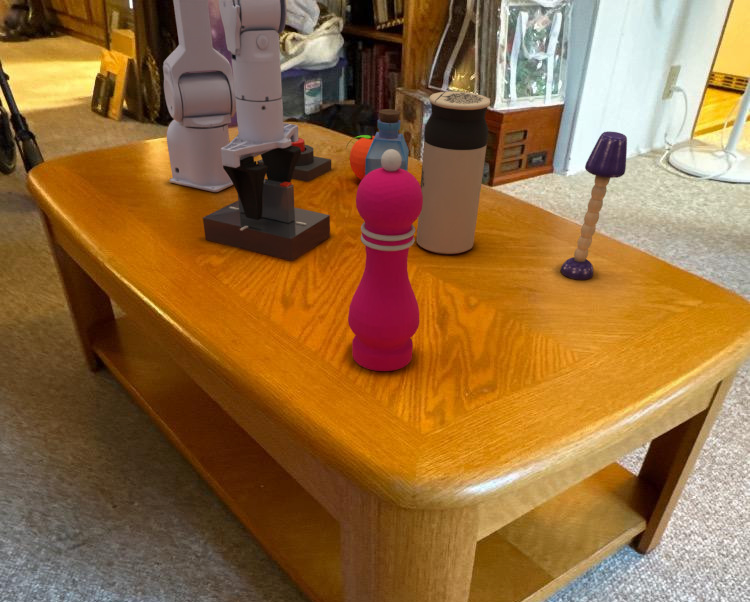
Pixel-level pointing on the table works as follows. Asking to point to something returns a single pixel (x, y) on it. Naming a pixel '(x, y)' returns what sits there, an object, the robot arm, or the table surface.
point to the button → (299, 144)
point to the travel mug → (452, 171)
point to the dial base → (267, 232)
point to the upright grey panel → (276, 201)
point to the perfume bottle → (387, 141)
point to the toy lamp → (597, 197)
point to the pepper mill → (386, 267)
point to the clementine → (360, 155)
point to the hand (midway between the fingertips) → (266, 210)
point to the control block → (308, 165)
